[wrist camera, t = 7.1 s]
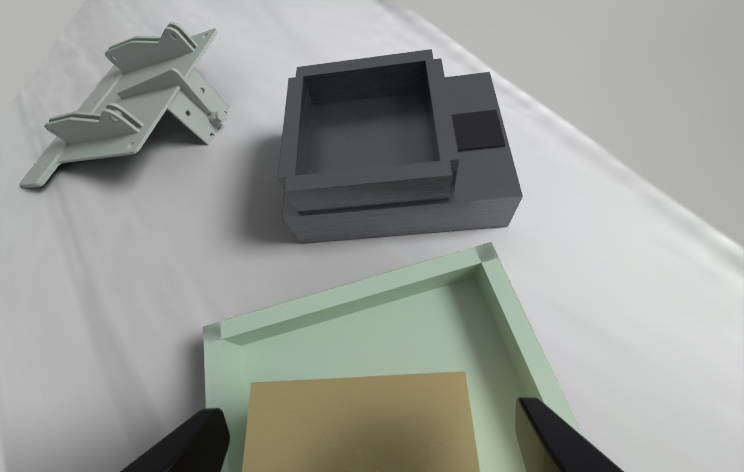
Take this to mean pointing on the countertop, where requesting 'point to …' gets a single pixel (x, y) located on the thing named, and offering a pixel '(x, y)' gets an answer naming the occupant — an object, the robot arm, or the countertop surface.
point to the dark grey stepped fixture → (393, 150)
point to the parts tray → (395, 346)
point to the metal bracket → (136, 102)
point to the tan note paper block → (361, 425)
